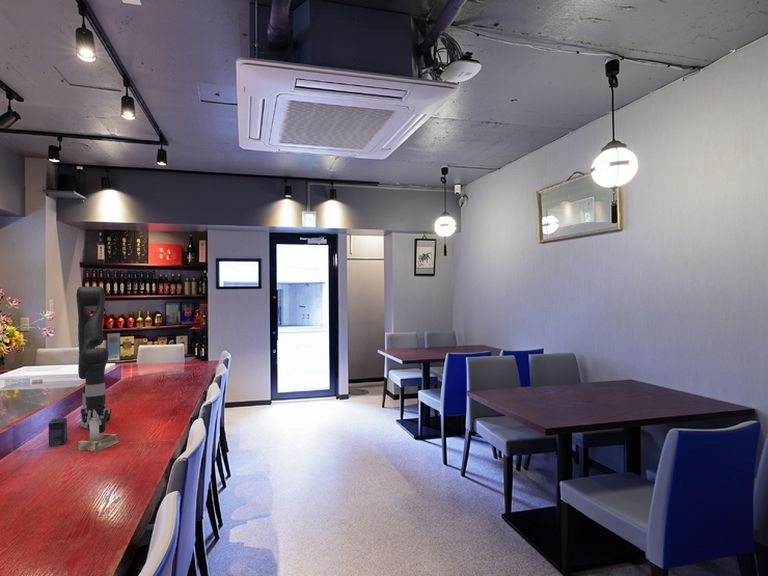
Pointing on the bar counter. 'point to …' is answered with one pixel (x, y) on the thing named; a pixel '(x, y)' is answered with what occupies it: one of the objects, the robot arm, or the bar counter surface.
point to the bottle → (95, 429)
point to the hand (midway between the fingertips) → (96, 432)
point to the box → (57, 432)
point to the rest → (98, 443)
